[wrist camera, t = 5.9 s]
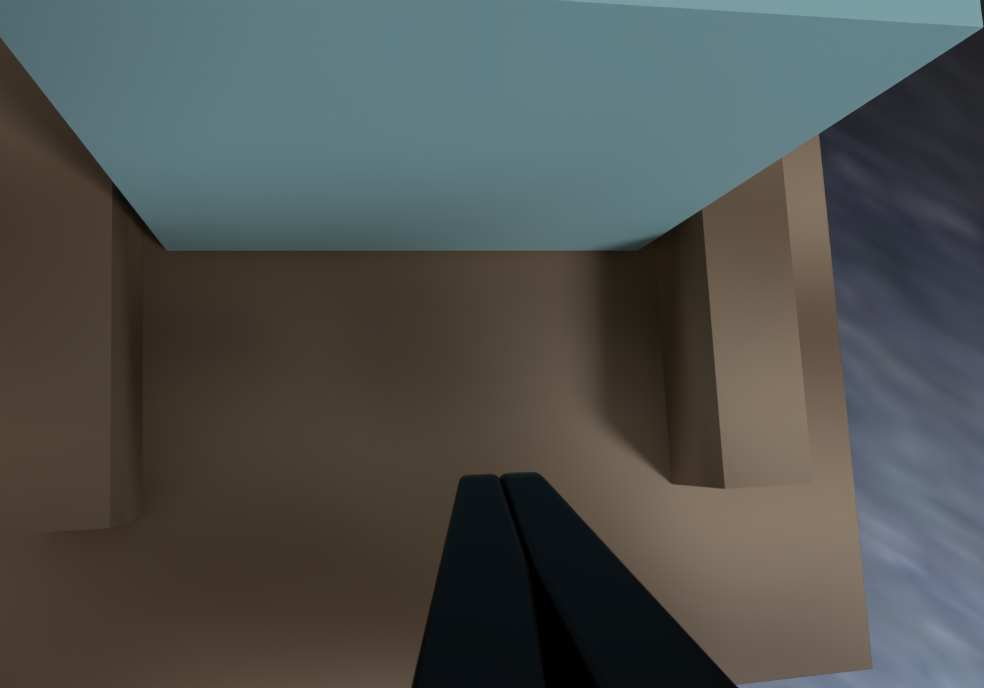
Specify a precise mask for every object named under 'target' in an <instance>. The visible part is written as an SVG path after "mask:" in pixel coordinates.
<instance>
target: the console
mask: <svg viewBox="0 0 984 688" xmlns="http://www.w3.org/2000/svg"><path fill="white" fill-rule="evenodd" d="M516 472H537V473H539V474H540V475H542V476H543V477H544V478H545V479H546V480H547V481H548V482H549V484H550V485H551V486H552V487H553V488H554V489H555V490H556V491H557V492H558V493H559V494H560V495H561V497H562V498H563V499H564V500H565V501H566V502H567V503H568V504H569V505H570V506H571V507H572V508H573V510H574V511H575V512H576V513H577V514H578V515H579V516H580V517H581V518H582V519H583V520H584V521H585V522H586V524H587V525H588V526H589V527H590V528H591V529H592V530H593V531H594V532H595V533H596V534H597V535H598V537H599V538H600V539H601V540H602V541H603V542H604V543H605V544H606V545H607V546H608V547H609V548H610V550H611V551H612V552H613V553H614V554H615V555H616V556H617V557H618V558H619V559H620V560H621V561H622V563H623V564H624V565H625V566H626V567H627V568H628V569H629V570H630V571H631V572H632V573H633V574H634V576H635V577H636V578H637V579H638V580H639V581H640V582H641V583H642V584H643V585H644V586H645V587H646V588H647V590H648V591H649V592H650V593H651V594H652V595H653V596H654V597H655V598H656V599H657V600H658V601H659V603H660V604H661V605H662V606H663V607H664V608H665V609H666V610H667V611H668V612H669V613H670V614H671V616H672V617H673V618H674V619H675V620H676V621H677V622H678V623H679V624H680V625H681V626H682V627H683V629H684V630H685V631H686V632H687V633H688V634H689V635H690V636H691V637H692V638H693V639H694V640H695V642H696V643H697V644H698V645H699V646H700V647H701V648H702V649H703V650H704V651H705V652H706V653H707V654H708V656H709V657H710V658H711V659H712V660H713V661H714V662H715V663H716V664H717V665H718V666H719V667H720V669H721V670H722V671H723V672H724V673H725V674H726V675H727V676H728V677H729V678H730V679H731V680H732V682H733V683H734V684H735V685H738V684H746V683H755V682H764V681H772V680H781V679H789V678H798V677H807V676H815V675H824V674H833V673H841V672H850V671H858V670H867V669H873V667H872V657H871V647H870V637H869V627H868V617H867V608H866V598H865V588H864V578H863V568H862V558H861V548H860V538H859V528H858V518H857V508H856V498H855V488H854V479H853V469H852V459H851V449H850V439H849V429H848V419H847V409H846V399H845V389H844V379H843V369H842V359H841V350H840V340H839V330H838V320H837V310H836V300H835V290H834V280H833V270H832V260H831V250H830V240H829V230H828V221H827V211H826V201H825V191H824V181H823V171H822V161H821V151H820V141H819V134H817V135H816V136H814V137H813V138H811V139H810V140H808V141H807V142H805V143H803V144H802V145H800V146H799V147H797V148H796V149H794V150H793V151H791V152H790V153H788V154H786V155H785V156H783V157H782V158H780V159H779V160H777V161H776V162H774V163H773V164H771V165H769V166H768V167H766V168H765V169H763V170H762V171H760V172H759V173H757V174H756V175H754V176H752V177H751V178H749V179H748V180H746V181H745V182H743V183H742V184H740V185H739V186H737V187H735V188H734V189H732V190H731V191H729V192H728V193H726V194H725V195H723V196H722V197H720V198H718V199H717V200H715V201H714V202H712V203H711V204H709V205H708V206H706V207H705V208H703V209H701V210H700V211H698V212H697V213H695V214H694V215H692V216H691V217H689V218H688V219H686V220H684V221H683V222H681V223H680V224H678V225H677V226H675V227H674V228H672V229H671V230H669V231H667V232H666V233H664V234H663V235H661V236H660V237H658V238H657V239H655V240H654V241H652V242H650V243H649V244H647V245H646V246H644V247H643V248H641V249H640V250H638V251H167V250H166V249H165V248H164V247H163V245H162V244H161V243H160V241H159V240H158V239H157V238H156V236H155V235H154V234H153V232H152V231H151V230H150V229H149V227H148V226H147V225H146V223H145V222H144V221H143V220H142V218H141V217H140V216H139V214H138V213H137V212H136V211H135V209H134V208H133V207H132V205H131V204H130V203H129V202H128V200H127V199H126V198H125V197H124V195H123V194H122V193H121V191H120V190H119V189H118V188H117V186H116V185H115V184H114V182H113V181H112V180H111V179H110V177H109V176H108V175H107V173H106V172H105V171H104V170H103V168H102V167H101V166H100V164H99V163H98V162H97V161H96V159H95V158H94V157H93V155H92V154H91V153H90V152H89V150H88V149H87V148H86V147H85V145H84V144H83V143H82V141H81V140H80V139H79V138H78V136H77V135H76V134H75V132H74V131H73V130H72V129H71V127H70V126H69V125H68V123H67V122H66V121H65V120H64V118H63V117H62V116H61V114H60V113H59V112H58V111H57V109H56V108H55V107H54V105H53V104H52V103H51V102H50V100H49V99H48V98H47V97H46V95H45V94H44V93H43V91H42V90H41V89H40V88H39V86H38V85H37V84H36V82H35V81H34V80H33V79H32V77H31V76H30V75H29V73H28V72H27V71H26V70H25V68H24V67H23V66H22V64H21V63H20V62H19V61H18V59H17V58H16V57H15V55H14V54H13V53H12V52H11V50H10V49H9V48H8V47H7V45H6V44H5V43H4V41H3V40H2V39H1V38H0V688H411V686H412V681H413V677H414V673H415V668H416V664H417V660H418V655H419V651H420V647H421V642H422V638H423V634H424V629H425V625H426V621H427V617H428V612H429V608H430V604H431V599H432V595H433V591H434V586H435V582H436V578H437V573H438V569H439V565H440V560H441V556H442V552H443V547H444V543H445V539H446V534H447V530H448V526H449V521H450V517H451V513H452V508H453V504H454V500H455V495H456V491H457V487H458V483H459V480H460V478H461V477H462V476H464V475H476V474H495V475H497V476H498V477H499V478H500V476H501V475H503V474H505V473H516Z"/></svg>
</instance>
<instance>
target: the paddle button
mask: <svg viewBox="0 0 984 688" xmlns="http://www.w3.org/2000/svg"><path fill="white" fill-rule="evenodd" d="M981 28H983V22H982V14H981V6H980V0H0V38H1V39H2V40H3V41H4V43H5V44H6V45H7V47H8V48H9V49H10V50H11V52H12V53H13V54H14V55H15V57H16V58H17V59H18V61H19V62H20V63H21V64H22V66H23V67H24V68H25V70H26V71H27V72H28V73H29V75H30V76H31V77H32V79H33V80H34V81H35V82H36V84H37V85H38V86H39V88H40V89H41V90H42V91H43V93H44V94H45V95H46V97H47V98H48V99H49V100H50V102H51V103H52V104H53V105H54V107H55V108H56V109H57V111H58V112H59V113H60V114H61V116H62V117H63V118H64V120H65V121H66V122H67V123H68V125H69V126H70V127H71V129H72V130H73V131H74V132H75V134H76V135H77V136H78V138H79V139H80V140H81V141H82V143H83V144H84V145H85V147H86V148H87V149H88V150H89V152H90V153H91V154H92V155H93V157H94V158H95V159H96V161H97V162H98V163H99V164H100V166H101V167H102V168H103V170H104V171H105V172H106V173H107V175H108V176H109V177H110V179H111V180H112V181H113V182H114V184H115V185H116V186H117V188H118V189H119V190H120V191H121V193H122V194H123V195H124V197H125V198H126V199H127V200H128V202H129V203H130V204H131V205H132V207H133V208H134V209H135V211H136V212H137V213H138V214H139V216H140V217H141V218H142V220H143V221H144V222H145V223H146V225H147V226H148V227H149V229H150V230H151V231H152V232H153V234H154V235H155V236H156V238H157V239H158V240H159V241H160V243H161V244H162V245H163V247H164V248H165V249H166V250H167V251H638V250H640V249H641V248H643V247H644V246H646V245H647V244H649V243H650V242H652V241H654V240H655V239H657V238H658V237H660V236H661V235H663V234H664V233H666V232H667V231H669V230H671V229H672V228H674V227H675V226H677V225H678V224H680V223H681V222H683V221H684V220H686V219H688V218H689V217H691V216H692V215H694V214H695V213H697V212H698V211H700V210H701V209H703V208H705V207H706V206H708V205H709V204H711V203H712V202H714V201H715V200H717V199H718V198H720V197H722V196H723V195H725V194H726V193H728V192H729V191H731V190H732V189H734V188H735V187H737V186H739V185H740V184H742V183H743V182H745V181H746V180H748V179H749V178H751V177H752V176H754V175H756V174H757V173H759V172H760V171H762V170H763V169H765V168H766V167H768V166H769V165H771V164H773V163H774V162H776V161H777V160H779V159H780V158H782V157H783V156H785V155H786V154H788V153H790V152H791V151H793V150H794V149H796V148H797V147H799V146H800V145H802V144H803V143H805V142H807V141H808V140H810V139H811V138H813V137H814V136H816V135H817V134H819V133H820V132H822V131H824V130H825V129H827V128H828V127H830V126H831V125H833V124H834V123H836V122H837V121H839V120H841V119H842V118H844V117H845V116H847V115H848V114H850V113H851V112H853V111H854V110H856V109H858V108H859V107H861V106H862V105H864V104H865V103H867V102H868V101H870V100H871V99H873V98H875V97H876V96H878V95H879V94H881V93H882V92H884V91H885V90H887V89H888V88H890V87H892V86H893V85H895V84H896V83H898V82H899V81H901V80H902V79H904V78H905V77H907V76H909V75H910V74H912V73H913V72H915V71H916V70H918V69H919V68H921V67H922V66H924V65H926V64H927V63H929V62H930V61H932V60H933V59H935V58H936V57H938V56H939V55H941V54H943V53H944V52H946V51H947V50H949V49H950V48H952V47H953V46H955V45H956V44H958V43H960V42H961V41H963V40H964V39H966V38H967V37H969V36H970V35H972V34H973V33H975V32H977V31H978V30H980V29H981Z"/></svg>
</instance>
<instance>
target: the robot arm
mask: <svg viewBox="0 0 984 688" xmlns="http://www.w3.org/2000/svg"><path fill="white" fill-rule="evenodd" d="M411 688H738V687H737V686H736V685H735V684H734V683H733V682H732V680H731V679H730V678H729V677H728V676H727V675H726V674H725V673H724V672H723V671H722V670H721V669H720V667H719V666H718V665H717V664H716V663H715V662H714V661H713V660H712V659H711V658H710V657H709V656H708V654H707V653H706V652H705V651H704V650H703V649H702V648H701V647H700V646H699V645H698V644H697V643H696V642H695V640H694V639H693V638H692V637H691V636H690V635H689V634H688V633H687V632H686V631H685V630H684V629H683V627H682V626H681V625H680V624H679V623H678V622H677V621H676V620H675V619H674V618H673V617H672V616H671V614H670V613H669V612H668V611H667V610H666V609H665V608H664V607H663V606H662V605H661V604H660V603H659V601H658V600H657V599H656V598H655V597H654V596H653V595H652V594H651V593H650V592H649V591H648V590H647V588H646V587H645V586H644V585H643V584H642V583H641V582H640V581H639V580H638V579H637V578H636V577H635V576H634V574H633V573H632V572H631V571H630V570H629V569H628V568H627V567H626V566H625V565H624V564H623V563H622V561H621V560H620V559H619V558H618V557H617V556H616V555H615V554H614V553H613V552H612V551H611V550H610V548H609V547H608V546H607V545H606V544H605V543H604V542H603V541H602V540H601V539H600V538H599V537H598V535H597V534H596V533H595V532H594V531H593V530H592V529H591V528H590V527H589V526H588V525H587V524H586V522H585V521H584V520H583V519H582V518H581V517H580V516H579V515H578V514H577V513H576V512H575V511H574V510H573V508H572V507H571V506H570V505H569V504H568V503H567V502H566V501H565V500H564V499H563V498H562V497H561V495H560V494H559V493H558V492H557V491H556V490H555V489H554V488H553V487H552V486H551V485H550V484H549V482H548V481H547V480H546V479H545V478H544V477H543V476H542V475H540V474H539V473H537V472H516V473H505V474H503V475H501V476H500V478H499V477H498V476H497V475H495V474H476V475H464V476H462V477H461V478H460V480H459V483H458V487H457V491H456V495H455V500H454V504H453V508H452V513H451V517H450V521H449V526H448V530H447V534H446V539H445V543H444V547H443V552H442V556H441V560H440V565H439V569H438V573H437V578H436V582H435V586H434V591H433V595H432V599H431V604H430V608H429V612H428V617H427V621H426V625H425V629H424V634H423V638H422V642H421V647H420V651H419V655H418V660H417V664H416V668H415V673H414V677H413V681H412V686H411Z"/></svg>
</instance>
